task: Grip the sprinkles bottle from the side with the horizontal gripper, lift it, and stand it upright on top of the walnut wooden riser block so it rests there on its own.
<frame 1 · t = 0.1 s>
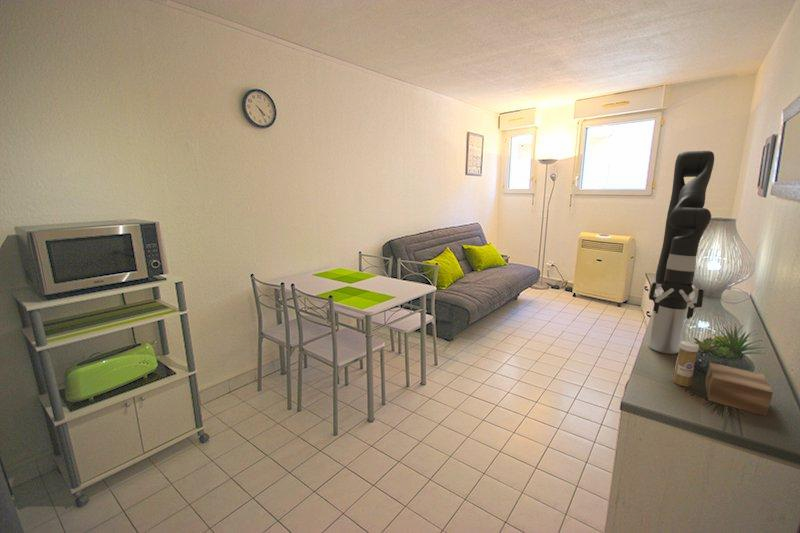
hand: (671, 315, 122), 17 cm above the table, tool pointing down, fingers open, 8 cm apart
sprinkles bottle: (681, 383, 112), on the table
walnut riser: (733, 398, 105), on the table
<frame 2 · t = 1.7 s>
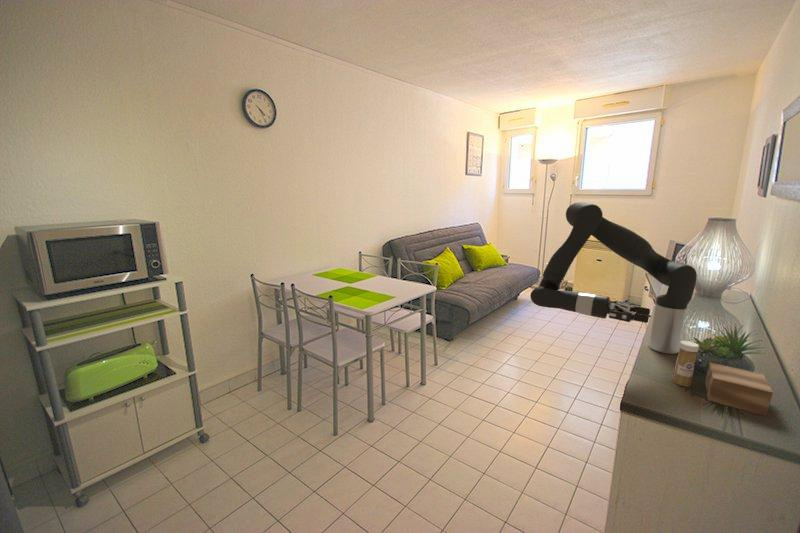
hand: (649, 315, 114), 20 cm above the table, tool horizontal, fingers open, 8 cm apart
nothing on the table moved.
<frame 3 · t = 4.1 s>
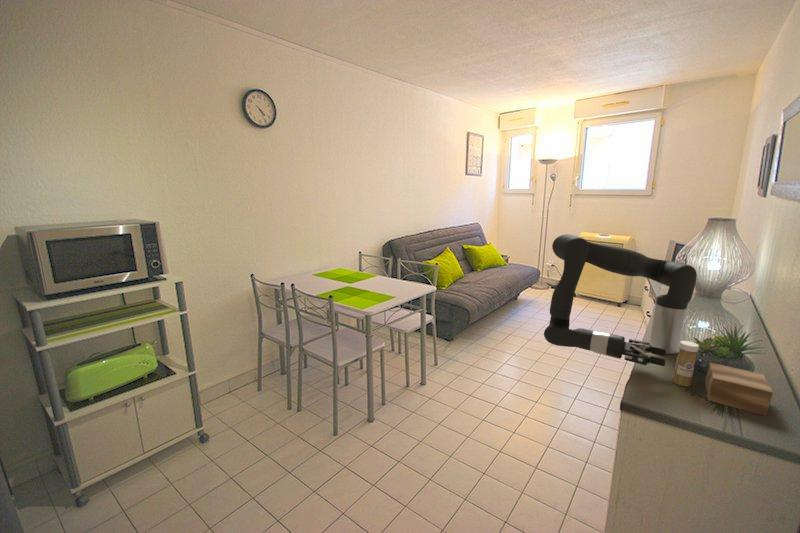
hand: (665, 357, 114), 7 cm above the table, tool horizontal, fingers open, 8 cm apart
nothing on the table moved.
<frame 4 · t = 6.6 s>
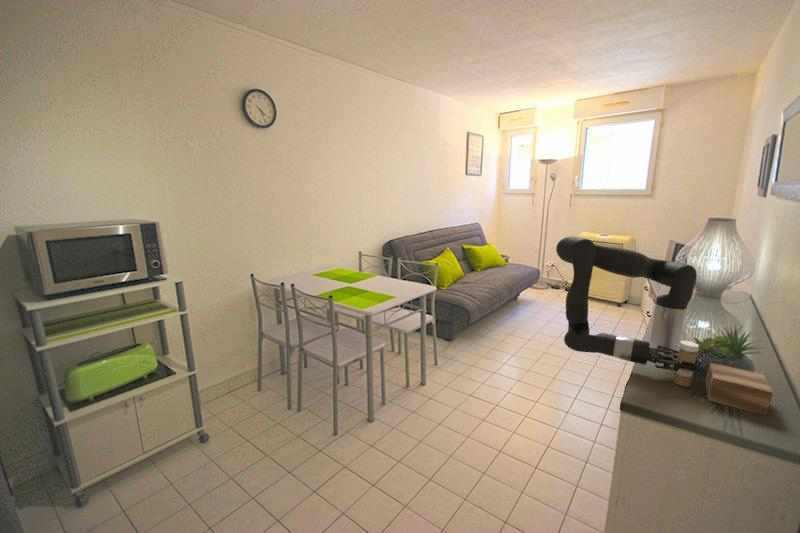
hand: (696, 365, 109), 7 cm above the table, tool horizontal, fingers closed on sprinkles bottle, 4 cm apart
sprinkles bottle: (681, 383, 112), on the table, touching gripper
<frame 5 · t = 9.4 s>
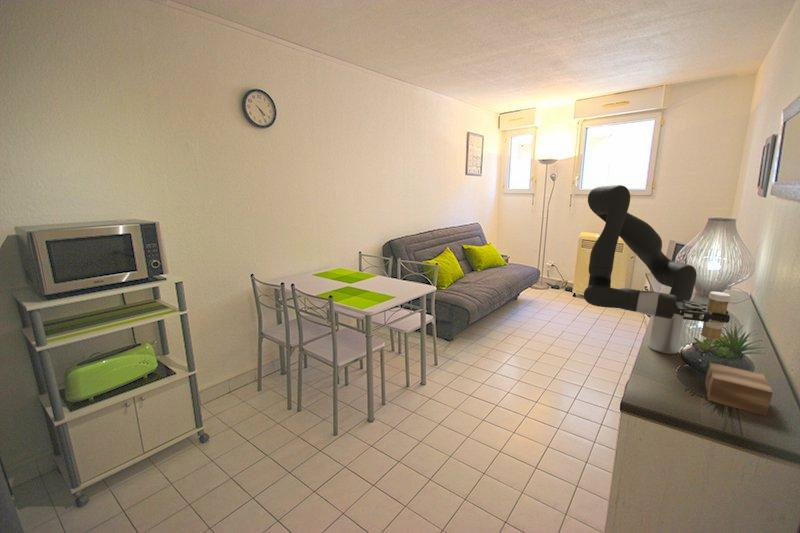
hand: (728, 316, 103), 24 cm above the table, tool horizontal, fingers closed on sprinkles bottle, 4 cm apart
sprinkles bottle: (710, 337, 106), point 17 cm above the table, touching gripper
when the fingers open (15 cm above the table, at t = 12.3 s): sprinkles bottle drops 1 cm, resting on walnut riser.
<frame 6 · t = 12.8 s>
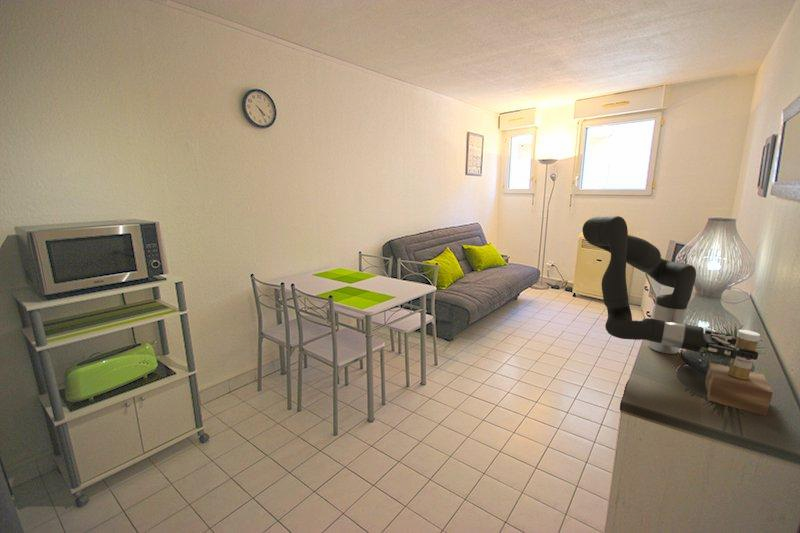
hand: (754, 350, 100), 16 cm above the table, tool horizontal, fingers open, 8 cm apart
sprinkles bottle: (737, 376, 103), point 7 cm above the table, touching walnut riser
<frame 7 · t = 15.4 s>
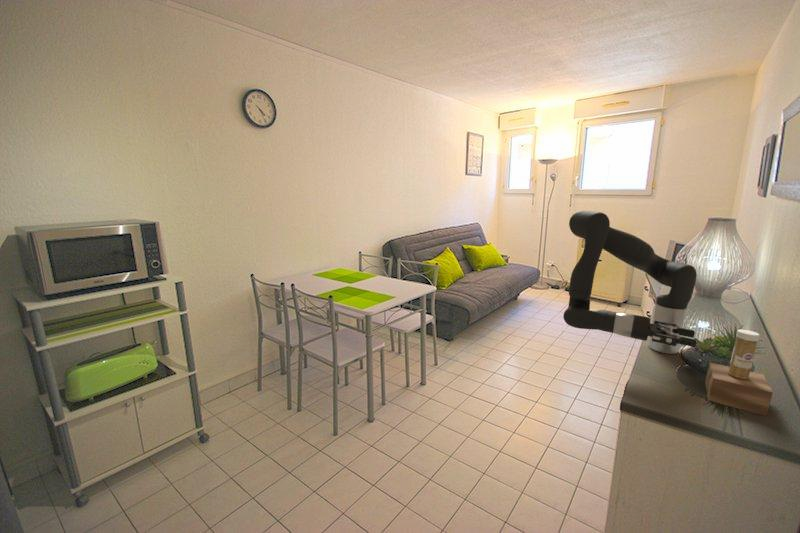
hand: (695, 338, 108), 15 cm above the table, tool horizontal, fingers open, 8 cm apart
nothing on the table moved.
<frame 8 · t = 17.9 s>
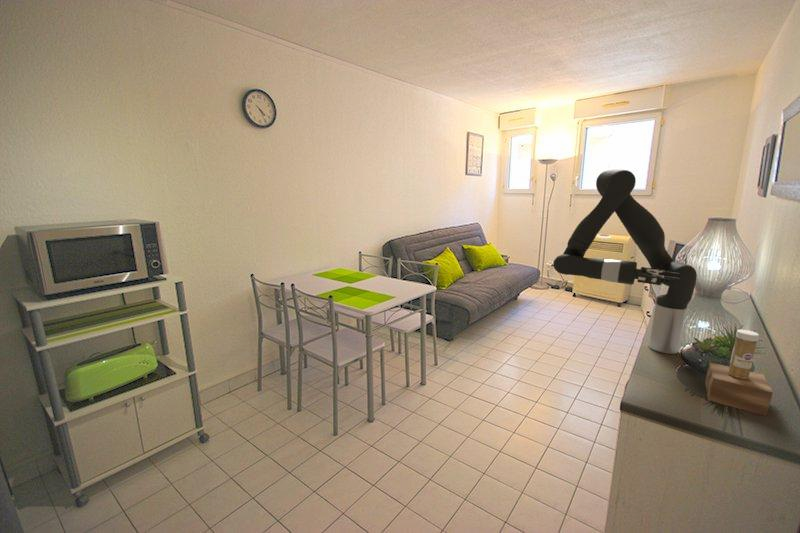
hand: (679, 279, 111), 32 cm above the table, tool horizontal, fingers open, 8 cm apart
nothing on the table moved.
at the end: sprinkles bottle inside the target area on the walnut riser (0.1 cm from its centre), point 6.8 cm above the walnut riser's base; sprinkles bottle tilted 0°; the gripper is holding nothing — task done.
